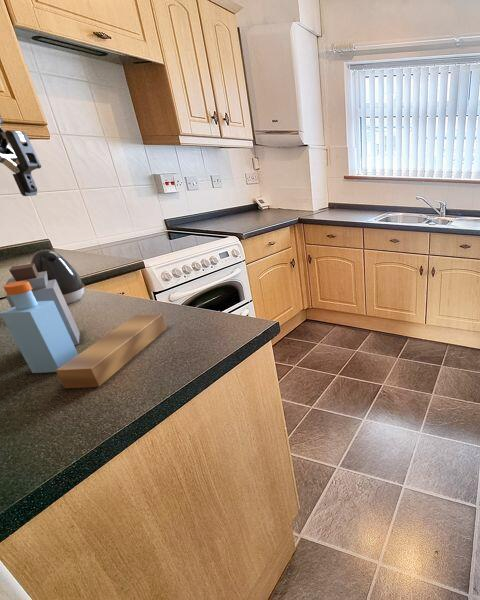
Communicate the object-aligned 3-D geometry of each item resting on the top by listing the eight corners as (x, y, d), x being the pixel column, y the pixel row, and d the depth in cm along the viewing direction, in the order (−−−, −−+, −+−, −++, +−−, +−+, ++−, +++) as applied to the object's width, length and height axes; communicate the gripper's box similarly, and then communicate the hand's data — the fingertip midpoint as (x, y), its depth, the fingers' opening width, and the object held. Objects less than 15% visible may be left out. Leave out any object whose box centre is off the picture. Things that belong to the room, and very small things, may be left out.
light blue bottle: (80, 357, 70) (59, 371, 65) (54, 358, 70) (32, 373, 65) (43, 278, 63) (17, 288, 58) (14, 279, 63) (-14, 289, 58)
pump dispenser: (52, 311, 90) (27, 257, 84) (34, 305, 94) (8, 252, 88) (97, 298, 99) (76, 247, 93) (78, 292, 103) (57, 243, 97)
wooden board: (99, 386, 61) (91, 368, 59) (64, 388, 61) (54, 370, 59) (166, 328, 81) (161, 313, 80) (140, 329, 81) (135, 314, 79)
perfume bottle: (40, 342, 76) (0, 266, 68) (79, 332, 80) (46, 259, 72) (36, 355, 71) (-6, 274, 64) (78, 344, 75) (43, 267, 68)
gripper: (-126, 85, 50) (-64, 199, 56) (-22, 86, 50) (27, 197, 57) (-65, 93, 56) (-16, 194, 63) (25, 93, 57) (64, 193, 64)
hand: (4, 195), depth 60 cm, fingers open, 8 cm apart
